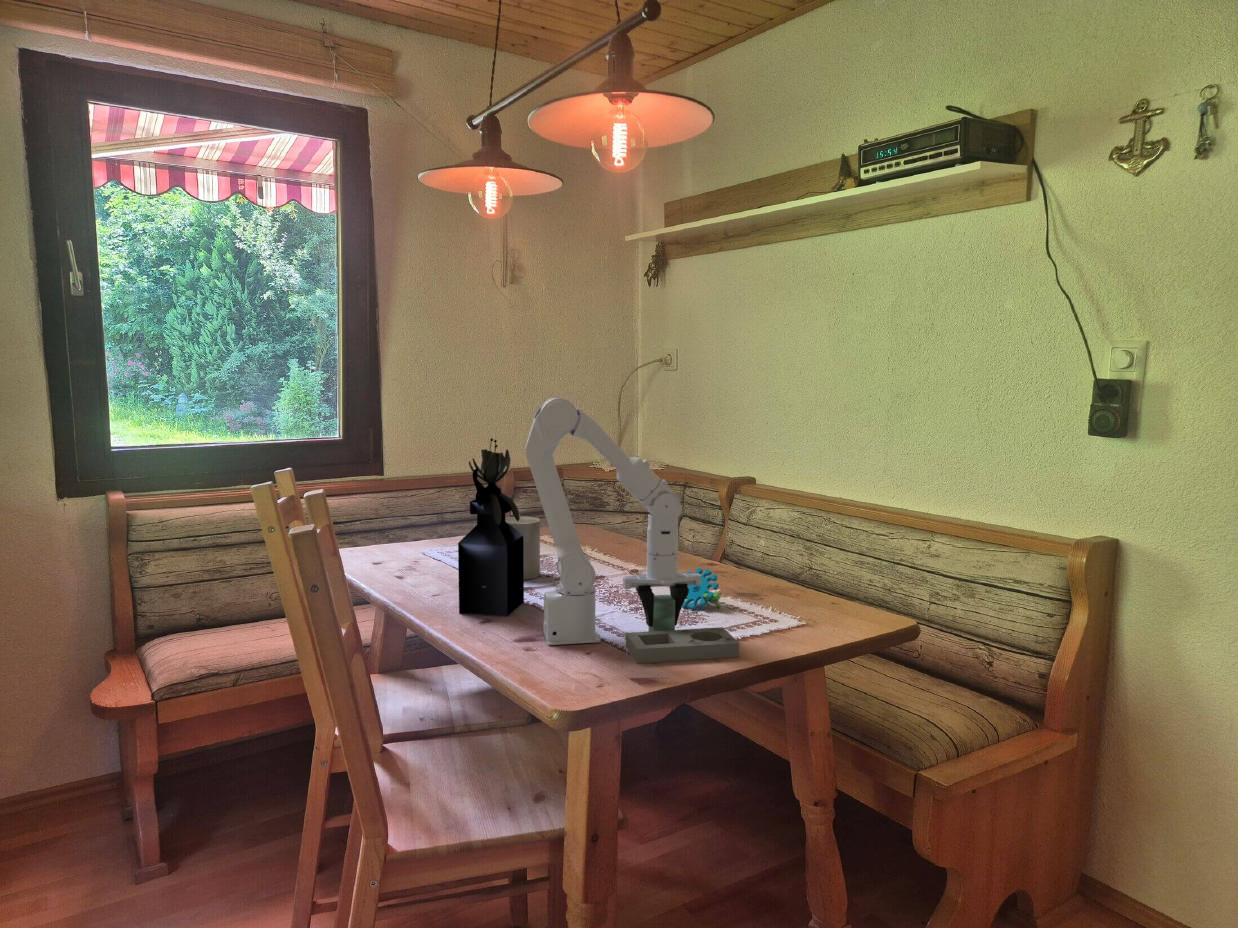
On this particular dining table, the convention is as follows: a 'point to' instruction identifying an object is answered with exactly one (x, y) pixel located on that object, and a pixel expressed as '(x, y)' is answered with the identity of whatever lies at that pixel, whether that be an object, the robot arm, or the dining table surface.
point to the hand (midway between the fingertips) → (661, 624)
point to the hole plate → (681, 645)
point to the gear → (702, 591)
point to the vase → (491, 546)
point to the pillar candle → (529, 543)
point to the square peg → (663, 613)
